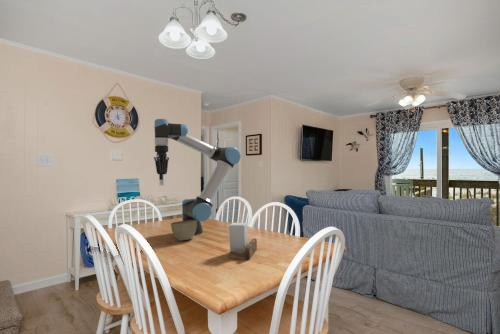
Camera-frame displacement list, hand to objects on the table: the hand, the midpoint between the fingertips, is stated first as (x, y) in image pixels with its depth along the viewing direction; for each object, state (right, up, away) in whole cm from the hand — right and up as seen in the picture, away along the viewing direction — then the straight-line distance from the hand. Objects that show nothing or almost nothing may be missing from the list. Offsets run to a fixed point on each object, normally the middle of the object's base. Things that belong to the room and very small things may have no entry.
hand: (162, 185), depth 164 cm
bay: (+49, -34, -22) cm, 63 cm away
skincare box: (+47, -34, -22) cm, 62 cm away
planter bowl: (+12, -34, +7) cm, 37 cm away
